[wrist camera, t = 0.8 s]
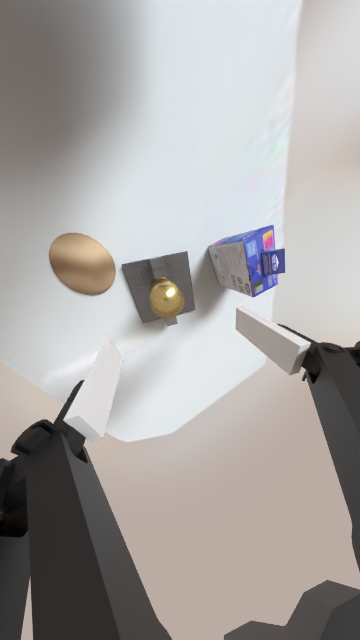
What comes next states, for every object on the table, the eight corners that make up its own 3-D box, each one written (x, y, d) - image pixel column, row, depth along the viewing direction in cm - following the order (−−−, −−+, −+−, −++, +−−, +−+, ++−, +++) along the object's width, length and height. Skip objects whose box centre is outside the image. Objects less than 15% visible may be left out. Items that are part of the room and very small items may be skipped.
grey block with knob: (122, 264, 27) (115, 266, 22) (186, 251, 28) (194, 250, 23) (143, 321, 33) (142, 332, 28) (193, 308, 35) (201, 317, 30)
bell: (143, 271, 25) (141, 276, 19) (172, 265, 26) (179, 268, 20) (156, 315, 30) (158, 330, 24) (180, 309, 31) (188, 322, 25)
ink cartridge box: (238, 275, 33) (292, 287, 21) (219, 285, 33) (261, 304, 21) (228, 234, 28) (291, 217, 16) (207, 247, 29) (252, 240, 16)
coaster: (36, 239, 22) (34, 239, 22) (100, 228, 23) (99, 227, 23) (72, 298, 28) (71, 299, 27) (123, 287, 29) (123, 287, 28)
